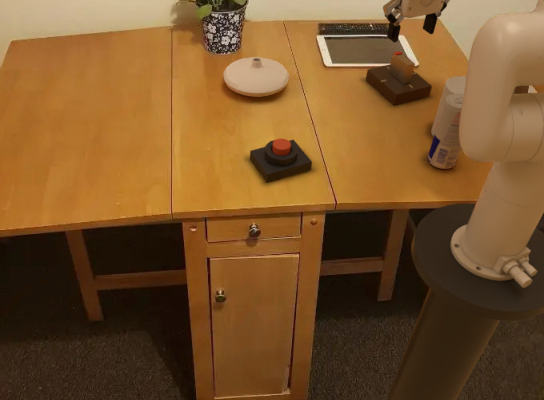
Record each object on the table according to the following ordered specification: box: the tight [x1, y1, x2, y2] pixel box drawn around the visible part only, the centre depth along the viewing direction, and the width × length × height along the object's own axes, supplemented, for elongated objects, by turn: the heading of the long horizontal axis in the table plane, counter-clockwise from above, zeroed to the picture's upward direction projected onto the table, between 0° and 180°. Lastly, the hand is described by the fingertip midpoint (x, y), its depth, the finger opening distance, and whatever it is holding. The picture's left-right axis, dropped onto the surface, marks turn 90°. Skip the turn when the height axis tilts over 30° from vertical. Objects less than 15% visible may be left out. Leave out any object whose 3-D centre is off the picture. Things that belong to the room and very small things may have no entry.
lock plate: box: [365, 63, 433, 106], centre depth 139 cm, size 12×10×3 cm
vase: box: [223, 56, 290, 97], centre depth 138 cm, size 16×16×7 cm
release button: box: [272, 138, 291, 156], centre depth 116 cm, size 4×4×2 cm
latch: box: [389, 50, 416, 84], centre depth 136 cm, size 6×2×5 cm, turn 23°
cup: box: [430, 75, 467, 138], centre depth 123 cm, size 8×8×12 cm
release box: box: [249, 138, 313, 183], centre depth 118 cm, size 10×8×4 cm
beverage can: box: [427, 93, 464, 170], centre depth 115 cm, size 6×6×15 cm
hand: (410, 35), depth 131 cm, fingers open, 9 cm apart
